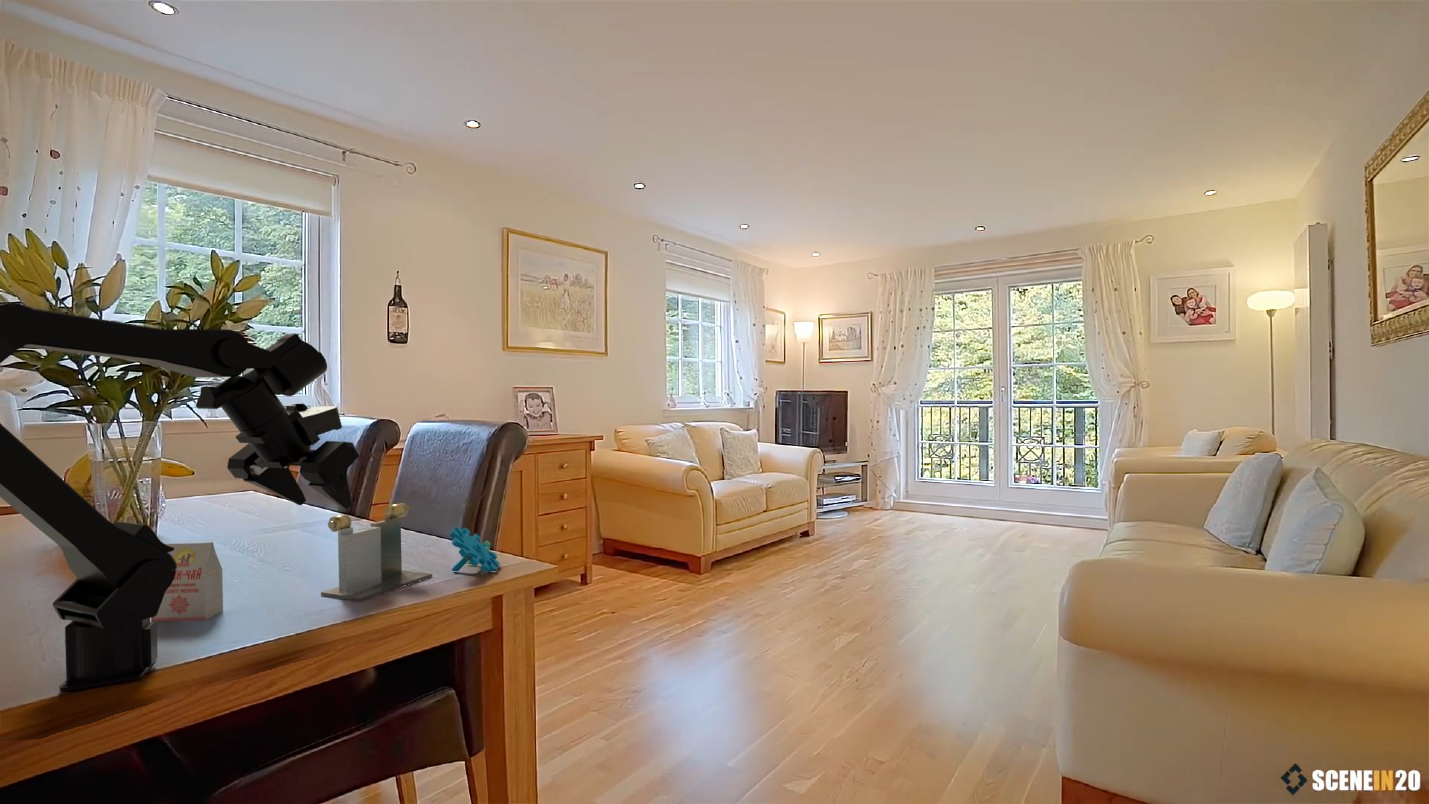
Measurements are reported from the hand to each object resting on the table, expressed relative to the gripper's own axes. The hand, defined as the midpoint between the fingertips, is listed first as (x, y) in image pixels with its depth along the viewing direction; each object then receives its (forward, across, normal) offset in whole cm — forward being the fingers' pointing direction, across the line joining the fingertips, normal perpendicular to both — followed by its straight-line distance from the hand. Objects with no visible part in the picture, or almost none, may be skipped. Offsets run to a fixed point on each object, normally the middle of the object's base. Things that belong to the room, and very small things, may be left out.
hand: (325, 505), depth 95 cm
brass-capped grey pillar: (+15, 0, +4) cm, 15 cm away
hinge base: (+17, 0, 0) cm, 17 cm away
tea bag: (+6, +14, +17) cm, 22 cm away
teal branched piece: (+24, -8, -9) cm, 27 cm away
